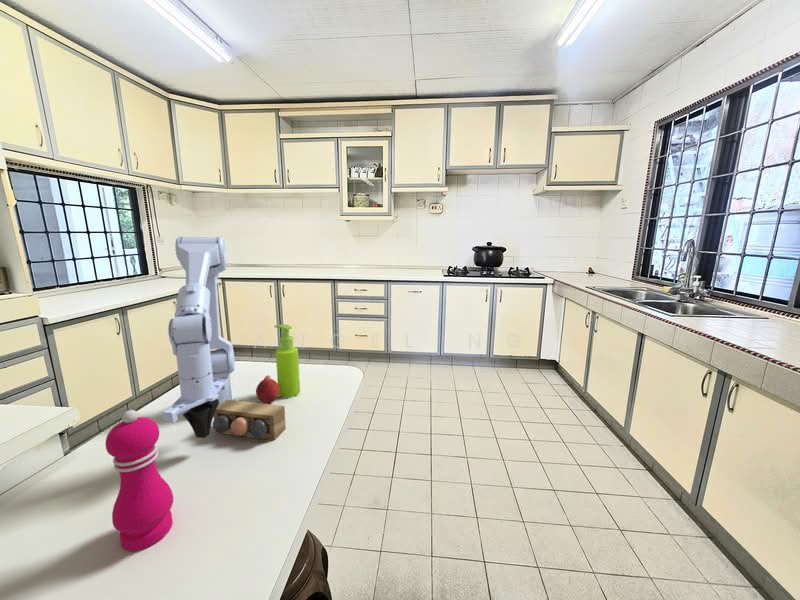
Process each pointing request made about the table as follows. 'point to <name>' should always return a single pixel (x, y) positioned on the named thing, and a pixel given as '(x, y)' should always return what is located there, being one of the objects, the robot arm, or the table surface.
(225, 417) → the knob
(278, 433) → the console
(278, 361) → the soap dispenser
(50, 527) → the table surface
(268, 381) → the onion
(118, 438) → the pepper mill
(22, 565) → the table surface
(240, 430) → the knob middle
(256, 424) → the knob
